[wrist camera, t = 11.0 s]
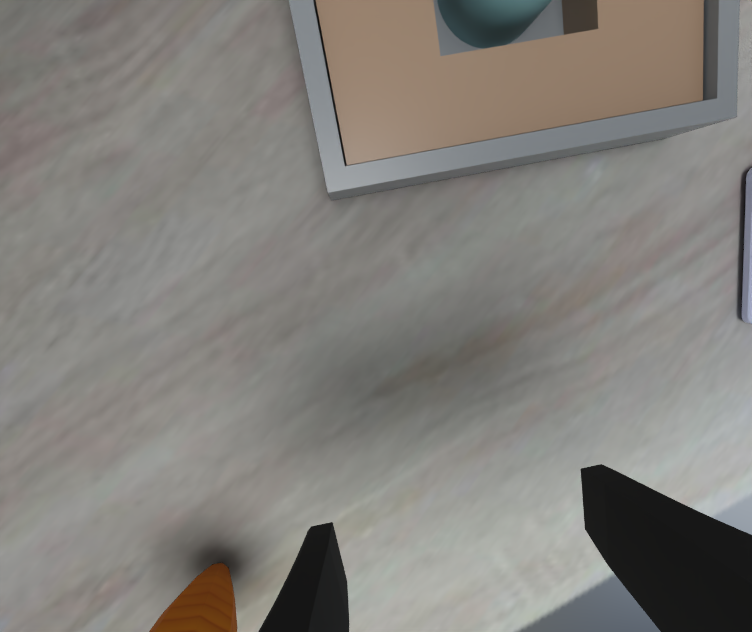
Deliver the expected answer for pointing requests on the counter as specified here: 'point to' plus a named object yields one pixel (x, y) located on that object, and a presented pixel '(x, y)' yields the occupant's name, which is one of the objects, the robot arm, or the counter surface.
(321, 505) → the counter surface
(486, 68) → the bore box
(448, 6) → the teal peg
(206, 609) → the carrot
